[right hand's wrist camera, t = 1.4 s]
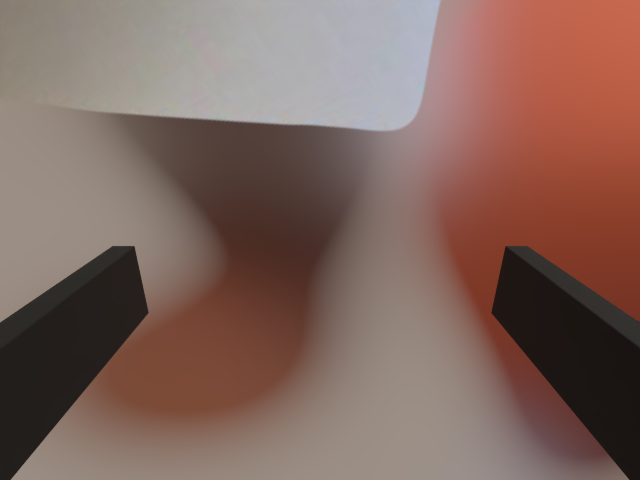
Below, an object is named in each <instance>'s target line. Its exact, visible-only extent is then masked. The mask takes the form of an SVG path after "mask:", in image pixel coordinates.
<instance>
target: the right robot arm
mask: <svg viewBox="0 0 640 480" xmlns="http://www.w3.org/2000/svg"><path fill="white" fill-rule="evenodd" d="M147 314H148V308H147V303H146V299H145V294H144V289H143V285H142V280H141V275H140V270H139V266H138V261H137V256H136V252H135V247H134V246H112V247H111V248H109V249H108V250H106V251H105V252H103V253H102V254H101V255H99V256H98V257H96V258H95V259H93V260H92V261H90V262H89V263H87V264H86V265H84V266H83V267H81V268H80V269H78V270H77V271H76V272H74V273H73V274H71V275H70V276H68V277H67V278H65V279H64V280H62V281H61V282H59V283H58V284H56V285H55V286H53V287H52V288H50V289H49V290H47V291H46V292H45V293H43V294H42V295H40V296H39V297H37V298H36V299H34V300H33V301H31V302H30V303H28V304H27V305H25V306H24V307H23V308H21V309H20V310H18V311H17V312H15V313H14V314H12V315H11V316H9V317H8V318H6V319H5V320H3V321H2V322H0V480H11V479H12V477H13V476H14V475H15V474H16V473H17V471H18V470H19V469H20V468H21V466H22V465H23V464H24V463H25V462H26V460H27V459H28V458H29V457H30V456H31V454H32V453H33V452H34V451H35V450H36V448H37V447H38V446H39V445H40V443H41V442H42V441H43V440H44V439H45V437H46V436H47V435H48V434H49V432H50V431H51V430H52V429H53V428H54V427H55V425H56V424H57V423H58V422H59V420H60V419H61V418H62V417H63V416H64V414H65V413H66V412H67V411H68V410H69V408H70V407H71V406H72V405H73V404H74V402H75V401H76V400H77V399H78V398H79V396H80V395H81V394H82V393H83V391H84V390H85V389H86V388H87V387H88V385H89V384H90V383H91V382H92V381H93V379H94V378H95V377H96V376H97V374H98V373H99V372H100V371H101V370H102V368H103V367H104V366H105V365H106V364H107V362H108V361H109V360H110V359H111V358H112V356H113V355H114V354H115V353H116V352H117V350H118V349H119V348H120V347H121V345H122V344H123V343H124V342H125V341H126V339H127V338H128V337H129V336H130V335H131V333H132V332H133V331H134V330H135V329H136V327H137V326H138V325H139V324H140V323H141V321H142V320H143V319H144V318H145V316H146V315H147ZM492 314H493V315H494V316H495V318H496V319H497V320H498V321H499V323H500V324H501V325H502V326H503V327H504V329H505V330H506V331H507V332H508V333H509V335H510V336H511V337H512V338H513V339H514V341H515V342H516V343H517V344H518V345H519V347H520V348H521V349H522V350H523V352H524V353H525V354H526V355H527V356H528V358H529V359H530V360H531V361H532V362H533V364H534V365H535V366H536V367H537V368H538V370H539V371H540V372H541V373H542V375H543V376H544V377H545V378H546V379H547V381H548V382H549V383H550V384H551V385H552V387H553V388H554V389H555V390H556V391H557V393H558V394H559V395H560V396H561V397H562V399H563V400H564V401H565V402H566V404H567V405H568V406H569V407H570V408H571V410H572V411H573V412H574V413H575V414H576V416H577V417H578V418H579V419H580V420H581V422H582V423H583V424H584V425H585V427H586V428H587V429H588V430H589V431H590V433H591V434H592V435H593V436H594V437H595V439H596V440H597V441H598V442H599V443H600V445H601V446H602V447H603V448H604V449H605V451H606V452H607V453H608V454H609V456H610V457H611V458H612V459H613V460H614V462H615V463H616V464H617V465H618V466H619V468H620V469H621V470H622V471H623V472H624V474H625V475H626V476H627V477H628V479H629V480H640V322H639V321H637V320H635V319H634V318H632V317H631V316H629V315H628V314H626V313H625V312H623V311H622V310H620V309H619V308H617V307H616V306H615V305H613V304H612V303H610V302H609V301H607V300H606V299H604V298H603V297H601V296H600V295H598V294H597V293H595V292H594V291H592V290H591V289H590V288H588V287H587V286H585V285H584V284H582V283H581V282H579V281H578V280H576V279H575V278H573V277H572V276H570V275H569V274H567V273H566V272H564V271H563V270H562V269H560V268H559V267H557V266H556V265H554V264H553V263H551V262H550V261H548V260H547V259H545V258H544V257H542V256H541V255H540V254H538V253H537V252H535V251H534V250H532V249H531V248H529V247H528V246H506V247H505V252H504V256H503V261H502V266H501V270H500V275H499V280H498V285H497V289H496V294H495V299H494V303H493V308H492Z"/></svg>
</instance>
